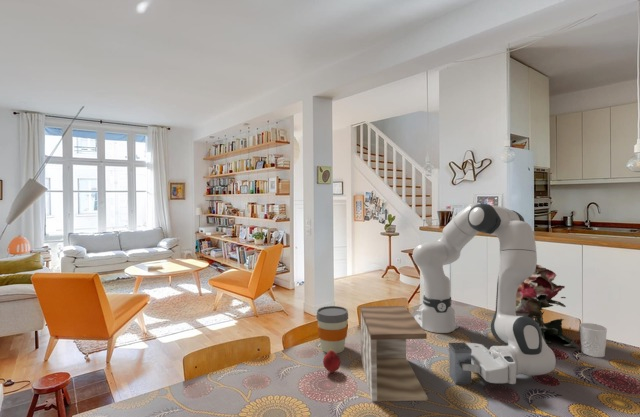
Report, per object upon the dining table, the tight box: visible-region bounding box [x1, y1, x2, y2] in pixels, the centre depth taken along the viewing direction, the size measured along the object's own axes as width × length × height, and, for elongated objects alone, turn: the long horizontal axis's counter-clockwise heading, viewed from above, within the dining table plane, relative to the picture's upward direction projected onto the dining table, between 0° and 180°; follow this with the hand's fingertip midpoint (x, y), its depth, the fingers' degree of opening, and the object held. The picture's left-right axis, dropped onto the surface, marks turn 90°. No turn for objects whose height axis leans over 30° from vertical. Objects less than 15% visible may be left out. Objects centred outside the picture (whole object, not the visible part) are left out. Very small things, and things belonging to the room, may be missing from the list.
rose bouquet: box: [516, 263, 578, 349], centre depth 147 cm, size 26×29×30 cm
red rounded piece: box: [322, 349, 341, 374], centre depth 116 cm, size 6×6×8 cm
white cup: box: [579, 322, 608, 358], centre depth 127 cm, size 8×8×10 cm
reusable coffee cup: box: [316, 305, 349, 354], centre depth 135 cm, size 13×13×15 cm
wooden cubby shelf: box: [360, 305, 428, 402], centre depth 112 cm, size 26×16×20 cm, turn 0°
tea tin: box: [448, 342, 472, 385], centre depth 110 cm, size 5×5×11 cm
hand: (457, 361), depth 110 cm, fingers open, 6 cm apart
